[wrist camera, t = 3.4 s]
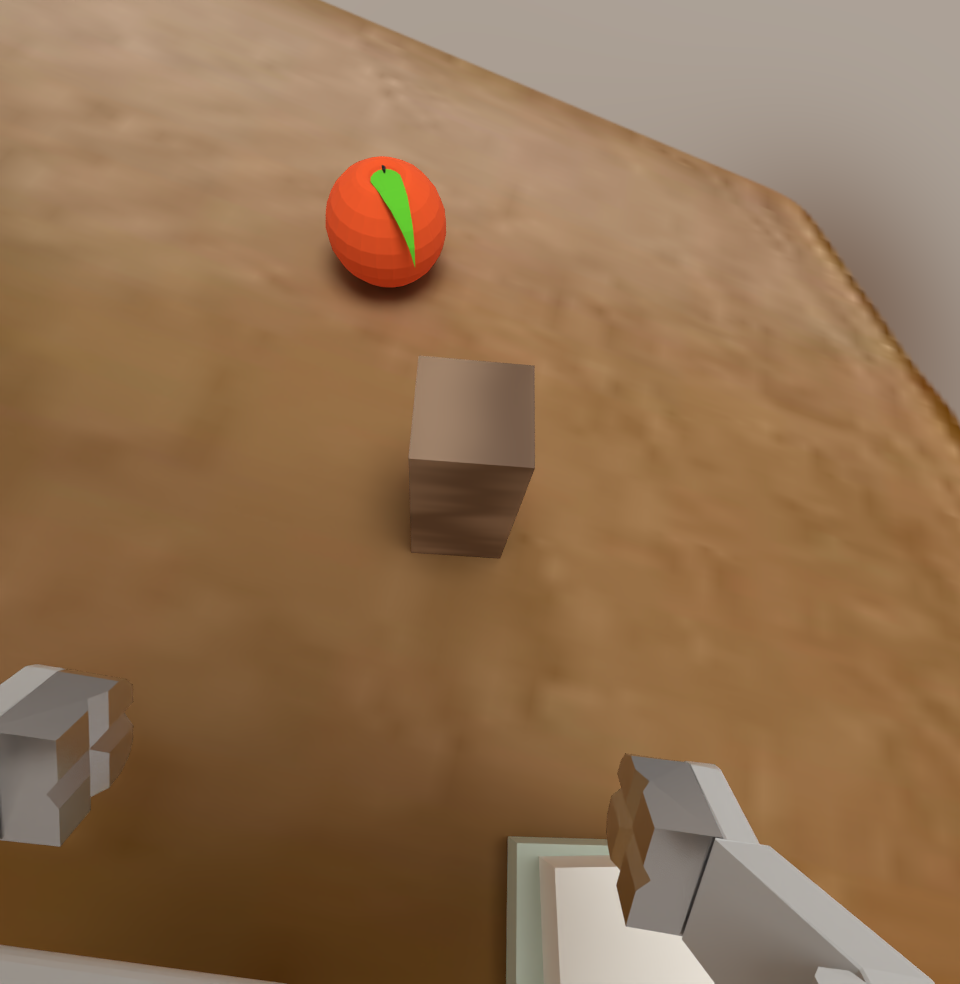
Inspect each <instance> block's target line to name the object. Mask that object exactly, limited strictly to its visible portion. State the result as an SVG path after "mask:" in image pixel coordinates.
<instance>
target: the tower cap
mask: <svg viewBox="0 0 960 984" xmlns="http://www.w3.org/2000/svg"><path fill="white" fill-rule="evenodd" d="M619 873H620V870H619V868H618V867H617V866H616V865H615V864H614V863H613V862H612V861H611V860H610V855H584V856H539V877H540V903H541V928H542V954H543V980H544V984H715V983H714V982H713V980H712V979H711V978H710V976H709V975H708V974H707V972H706V971H705V970H704V968H703V967H702V966H701V964H700V963H699V962H698V960H697V959H696V958H695V956H694V955H693V954H692V952H691V951H690V950H689V948H688V947H687V946H686V944H685V943H684V942H683V940H682V936H678V935H672V934H667V933H661V932H655V931H649V930H643V929H638V928H632V927H626V926H625V921H624V917H623V913H622V908H621V904H620V900H619V895H618V891H617V887H616V884H617V880H618V877H619Z"/></svg>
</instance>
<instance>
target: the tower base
mask: <svg viewBox="0 0 960 984" xmlns="http://www.w3.org/2000/svg"><path fill="white" fill-rule="evenodd" d="M584 855H609V850H608V845H607V839H582V838H548V837H515V836H508V858H507V941H506V984H544V980H543V954H542V928H541V903H540V877H539V856H584Z"/></svg>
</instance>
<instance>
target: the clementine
mask: <svg viewBox="0 0 960 984" xmlns="http://www.w3.org/2000/svg"><path fill="white" fill-rule="evenodd" d="M326 230H327V233H328V237H329V240H330V243H331V246H332V249H333V251H334V253H335V254H336V256H337V257H338V258H339V260H340V261H341V263H342V264H343V265H344V266H345V268H346V269H347V270H348V271H350V272H351V273H352V274H353V275H354V276H356V277H358V278H360V279H362V280H364V281H366V282H368V283H370V284H372V285H376V286H380V287H399V286H404V285H407V284H409V283H412V282H414V281H416V280H417V279H419V278H420V277H422V276H423V275H425V274H426V273H427V272H428V271H429V270H430V269H431V267H432V266H433V265H434V263H435V262H436V260H437V259H438V257H439V256H440V253H441V250H442V248H443V245H444V240H445V236H446V219H445V209H444V207H443V204H442V201H441V199H440V197H439V194H438V192H437V190H436V188H435V186H434V185H433V184H432V183H431V181H430V180H429V179H428V178H427V177H426V176H425V175H424V174H423V173H422V172H421V171H420V170H419V169H418V168H416V167H415V166H414V165H412V164H410V163H408V162H405V161H403V160H400V159H396V158H392V157H382V156H380V157H372V158H368V159H365V160H362V161H359V162H357V163H355V164H353V165H352V166H350V167H349V168H348V169H347V170H346V171H345V172H344V173H343V174H342V175H341V176H340V177H339V178H338V179H337V181H336V182H335V184H334V186H333V188H332V190H331V192H330V195H329V198H328V201H327V206H326Z"/></svg>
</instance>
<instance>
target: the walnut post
mask: <svg viewBox="0 0 960 984" xmlns="http://www.w3.org/2000/svg"><path fill="white" fill-rule="evenodd" d="M534 469H535V394H534V366H531V365H520V364H509V363H497V362H486V361H474V360H463V359H452V358H440V357H429V356H419V358H418V368H417V378H416V388H415V398H414V408H413V418H412V429H411V439H410V449H409V490H410V523H411V553H426V554H442V555H457V556H472V557H488V558H500V557H501V555H502V552H503V549H504V547H505V544H506V542H507V539H508V536H509V534H510V531H511V529H512V526H513V523H514V521H515V518H516V516H517V513H518V510H519V508H520V505H521V503H522V500H523V497H524V495H525V492H526V490H527V487H528V484H529V482H530V479H531V477H532V474H533V471H534Z"/></svg>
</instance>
